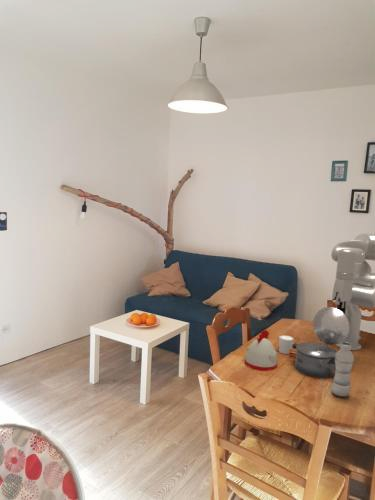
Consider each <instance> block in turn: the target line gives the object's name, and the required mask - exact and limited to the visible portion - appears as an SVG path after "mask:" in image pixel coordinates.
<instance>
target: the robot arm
mask: <svg viewBox="0 0 375 500" xmlns="http://www.w3.org/2000/svg"><path fill="white" fill-rule="evenodd" d="M331 259H332V260H333V261H334V262H335V263H337V264H336V265H337V266H336V273H335V280H334V284H333V288H332V295H331V300H332V301H335V302H334V304H335V305H336V308H337V309H339V310H341V311H342V312H343V313H344V314H345V315H346V317H347V318H348V321H349V326H350V329H349V334H348V336H347V338H346V339H345V340H344V341H343V342H347V343H350V344H351V350H350V351H359V350H361V349H362V345H361V344H360V343H359V340H361V339H362V337H361V336H360V330H361V322H362V310H361V309H360V307H359V306H361V307H366V308H375V272H372V269H373V268H372V267H371V265H370V264H369V262H367V261H373V262H375V234H373V233H360V234H358V235H357V236H356V237H355V238H354V239H351V240H346V241H340V242H338V243H337V244H336V245H334V247H333V249H332V251H331ZM335 346H336V347H337V348H340V344H336V345H335Z"/></svg>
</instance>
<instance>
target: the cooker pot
mask: <svg viewBox="0 0 375 500" xmlns="http://www.w3.org/2000/svg"><path fill="white" fill-rule="evenodd" d="M292 349H294V350H295V351H296V352H295V361H294V368H295V370H297V372H299V373H301V374H303V375H306V376H308V377H312V378H318V379H319V378H320V379H323V378H324V379H325V378H326V379H327V378H331V377H334V374H335V355H336V353H337V352H338V351H337V350H336V349H334V348H333V347H331V346H329V345H328V344H325V343H324V344H323V343H320V342H313V341H312V342H311V341H304V342H303V341H302V342H299V343H293V345H292Z"/></svg>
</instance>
